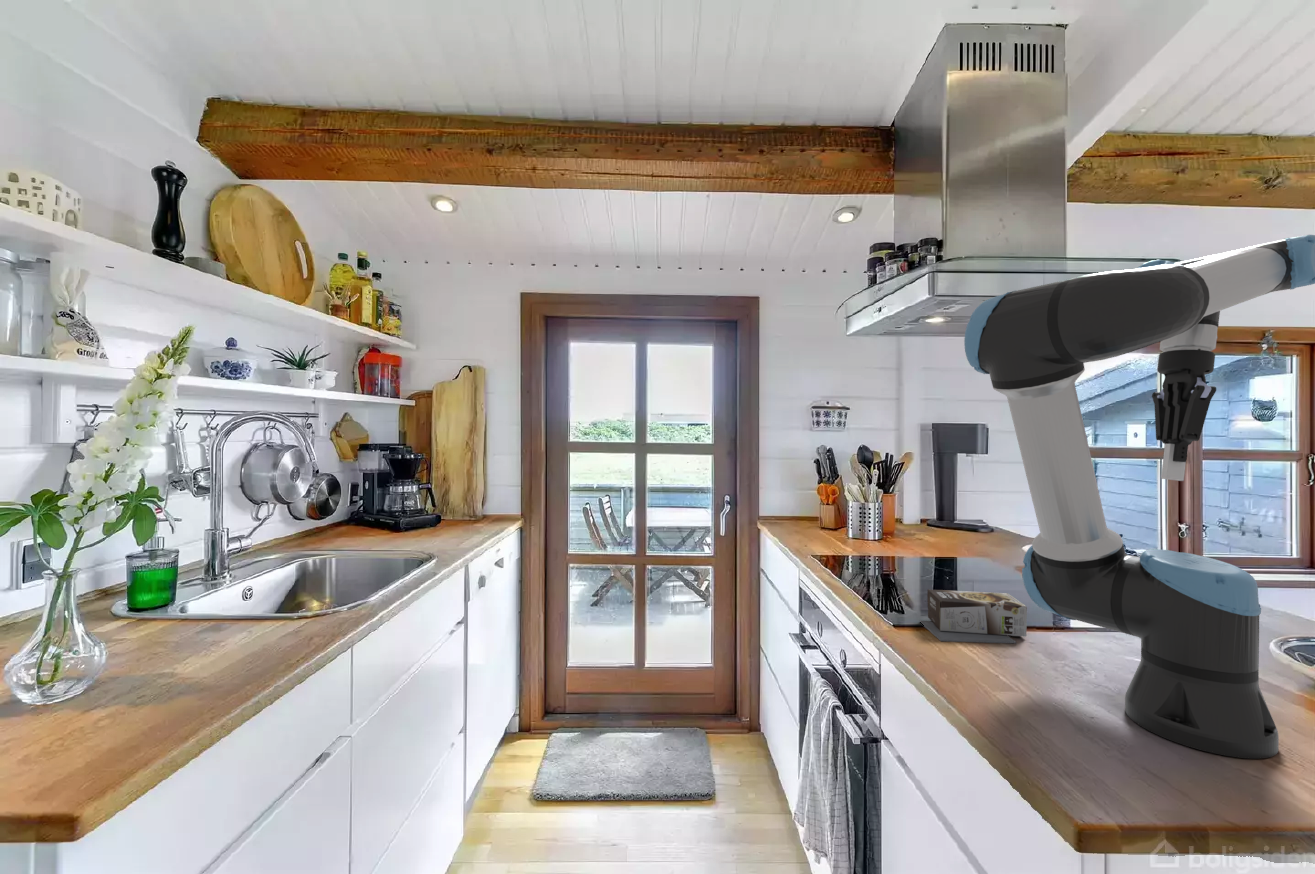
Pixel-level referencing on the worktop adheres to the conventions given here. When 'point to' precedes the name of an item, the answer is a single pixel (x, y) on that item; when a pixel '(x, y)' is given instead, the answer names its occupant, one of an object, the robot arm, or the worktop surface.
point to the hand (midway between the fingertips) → (1172, 479)
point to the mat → (965, 635)
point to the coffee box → (977, 612)
